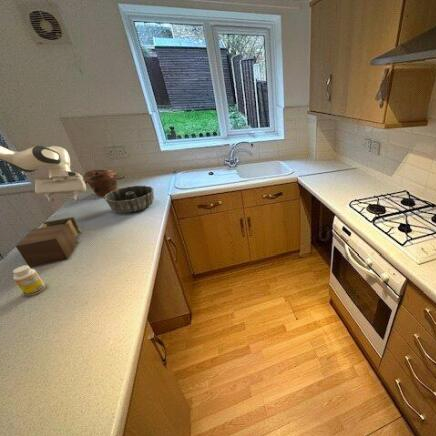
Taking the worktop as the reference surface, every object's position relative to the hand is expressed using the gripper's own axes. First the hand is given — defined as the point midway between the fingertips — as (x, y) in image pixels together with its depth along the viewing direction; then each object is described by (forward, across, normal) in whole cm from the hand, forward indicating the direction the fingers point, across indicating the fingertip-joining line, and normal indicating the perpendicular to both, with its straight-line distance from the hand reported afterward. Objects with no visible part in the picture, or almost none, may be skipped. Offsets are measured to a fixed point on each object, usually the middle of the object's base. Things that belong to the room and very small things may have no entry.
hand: (62, 200), depth 126 cm
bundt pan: (+3, +29, +17) cm, 34 cm away
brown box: (+30, +2, -16) cm, 34 cm away
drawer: (+22, +2, -7) cm, 23 cm away
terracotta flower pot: (-18, +8, +46) cm, 50 cm away
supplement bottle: (+46, +4, -36) cm, 59 cm away
